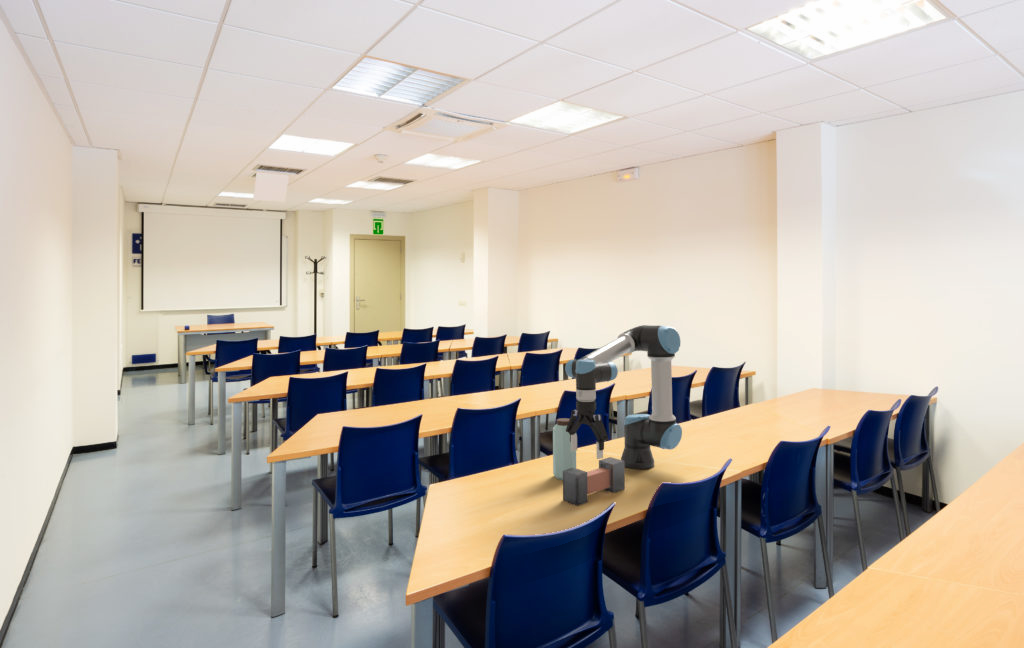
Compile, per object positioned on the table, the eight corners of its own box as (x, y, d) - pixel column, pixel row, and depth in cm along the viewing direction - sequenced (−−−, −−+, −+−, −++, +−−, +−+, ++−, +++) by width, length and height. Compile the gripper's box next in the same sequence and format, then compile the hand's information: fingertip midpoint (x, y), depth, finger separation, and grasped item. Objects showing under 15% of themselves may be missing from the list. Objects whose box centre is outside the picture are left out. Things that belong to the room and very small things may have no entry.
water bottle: (575, 481, 230) (574, 422, 229) (551, 480, 232) (551, 422, 231) (577, 474, 240) (576, 417, 239) (554, 472, 242) (554, 417, 241)
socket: (573, 496, 212) (573, 467, 212) (587, 502, 207) (587, 472, 206) (563, 500, 209) (562, 470, 208) (576, 505, 203) (576, 475, 202)
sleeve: (610, 484, 226) (610, 457, 225) (624, 489, 220) (624, 461, 219) (599, 488, 221) (598, 460, 221) (613, 493, 216) (612, 464, 215)
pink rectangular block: (602, 484, 220) (602, 466, 220) (609, 487, 217) (609, 469, 217) (570, 494, 209) (570, 476, 208) (577, 497, 206) (577, 478, 205)
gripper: (556, 396, 217) (557, 449, 218) (603, 405, 198) (604, 463, 199) (570, 394, 222) (570, 446, 223) (617, 403, 202) (618, 459, 203)
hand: (586, 454), depth 211 cm, fingers open, 13 cm apart
